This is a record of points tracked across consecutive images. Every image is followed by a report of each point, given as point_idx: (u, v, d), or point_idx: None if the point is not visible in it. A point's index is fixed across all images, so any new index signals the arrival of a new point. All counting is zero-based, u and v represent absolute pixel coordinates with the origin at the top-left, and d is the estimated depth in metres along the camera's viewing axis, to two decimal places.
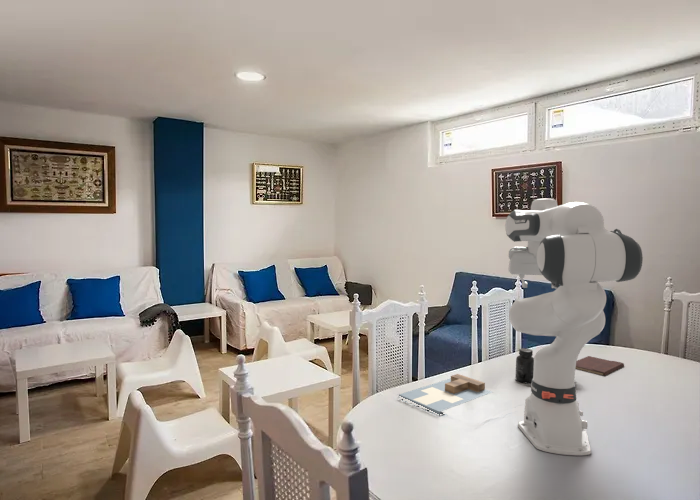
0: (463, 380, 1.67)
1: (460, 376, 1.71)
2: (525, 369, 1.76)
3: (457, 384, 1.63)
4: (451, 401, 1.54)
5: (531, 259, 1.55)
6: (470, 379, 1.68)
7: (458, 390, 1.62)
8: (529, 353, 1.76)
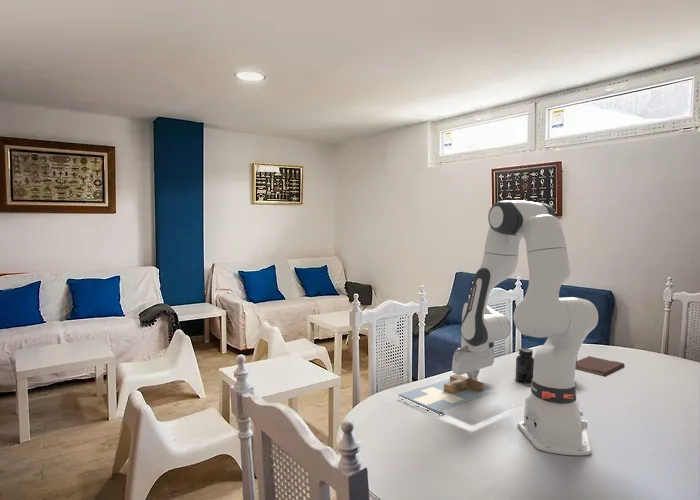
0: (462, 380, 1.66)
1: (459, 376, 1.71)
2: (525, 369, 1.76)
3: (456, 384, 1.62)
4: (451, 401, 1.54)
5: (471, 357, 1.66)
6: (469, 379, 1.68)
7: (457, 390, 1.62)
8: (529, 353, 1.76)
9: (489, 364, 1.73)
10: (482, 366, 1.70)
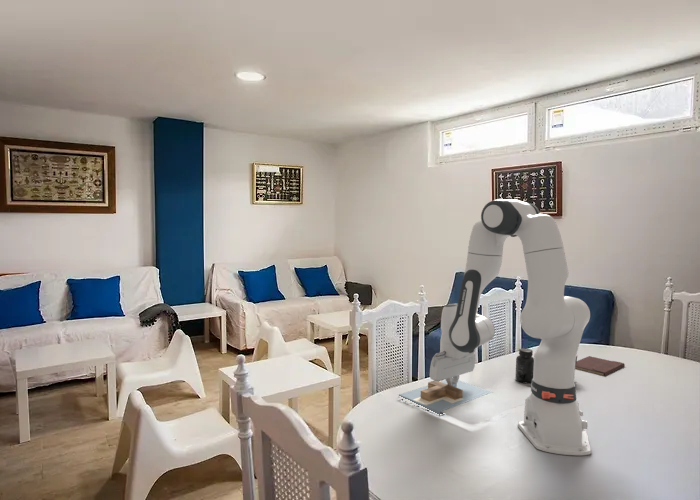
0: (440, 387, 1.60)
1: (438, 383, 1.64)
2: (525, 369, 1.76)
3: (433, 391, 1.55)
4: (451, 401, 1.54)
5: (450, 363, 1.59)
6: (448, 386, 1.61)
7: (434, 398, 1.55)
8: (529, 353, 1.76)
9: (469, 370, 1.66)
10: (462, 372, 1.63)
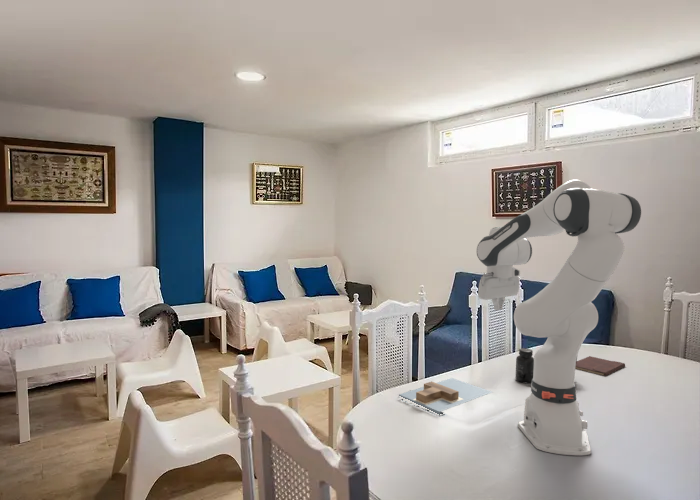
0: (436, 388, 1.58)
1: (434, 384, 1.62)
2: (525, 369, 1.76)
3: (429, 393, 1.54)
4: (451, 401, 1.54)
5: (497, 283, 1.65)
6: (443, 387, 1.59)
7: (430, 399, 1.53)
8: (529, 353, 1.76)
9: (514, 293, 1.71)
10: (507, 294, 1.69)
